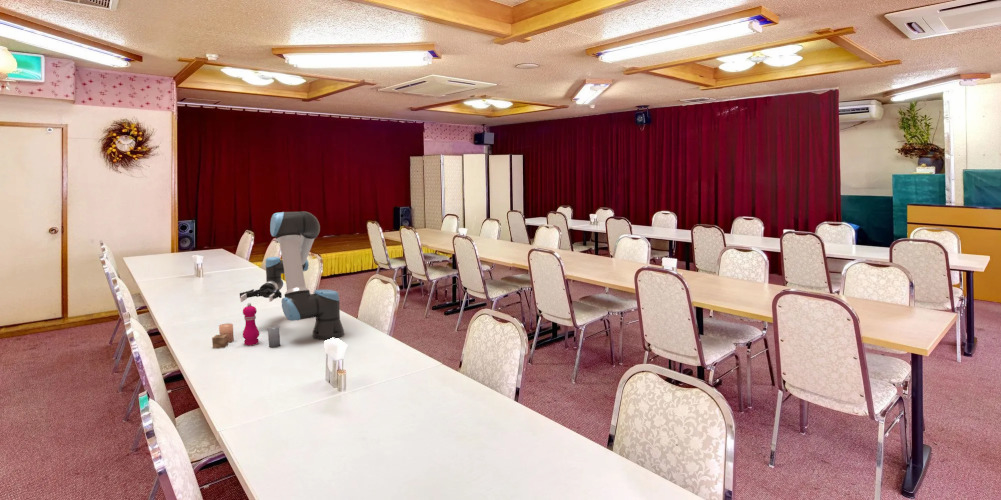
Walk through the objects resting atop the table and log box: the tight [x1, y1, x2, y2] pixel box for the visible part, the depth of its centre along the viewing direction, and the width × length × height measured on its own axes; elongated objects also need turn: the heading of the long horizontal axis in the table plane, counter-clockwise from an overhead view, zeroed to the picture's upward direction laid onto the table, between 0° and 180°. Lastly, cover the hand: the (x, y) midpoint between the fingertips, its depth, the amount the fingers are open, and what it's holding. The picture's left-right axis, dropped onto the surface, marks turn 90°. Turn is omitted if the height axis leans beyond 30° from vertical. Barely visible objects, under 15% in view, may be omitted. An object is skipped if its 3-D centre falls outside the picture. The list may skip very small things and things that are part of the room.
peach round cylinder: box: [218, 323, 235, 344], centre depth 261 cm, size 6×6×8 cm
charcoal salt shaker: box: [267, 325, 281, 349], centre depth 254 cm, size 5×5×9 cm
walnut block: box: [211, 334, 229, 349], centre depth 253 cm, size 5×5×5 cm
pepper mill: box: [242, 302, 260, 346], centre depth 256 cm, size 7×7×20 cm
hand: (255, 299), depth 265 cm, fingers open, 13 cm apart
